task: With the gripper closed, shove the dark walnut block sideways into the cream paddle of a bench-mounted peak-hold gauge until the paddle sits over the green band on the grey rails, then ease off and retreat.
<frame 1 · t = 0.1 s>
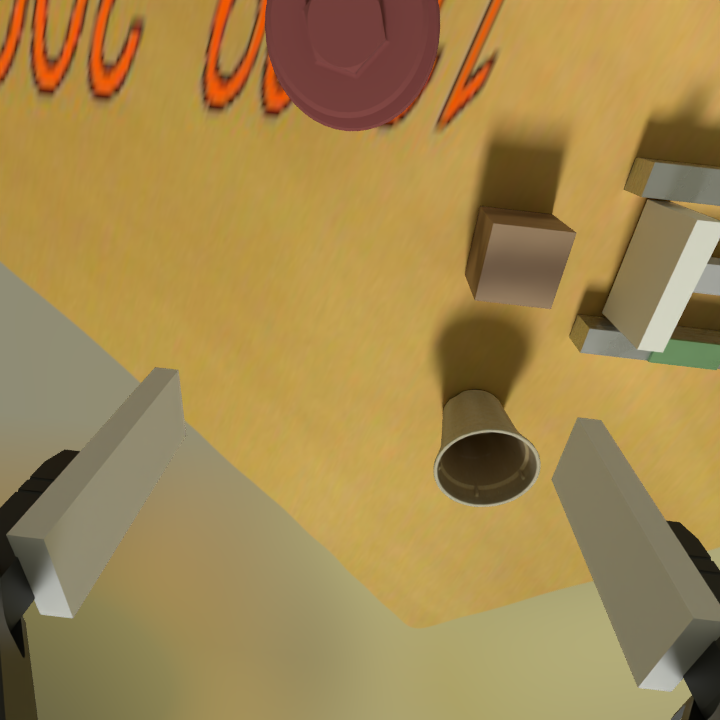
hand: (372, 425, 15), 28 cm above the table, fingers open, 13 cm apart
flower pot: (472, 412, 49), on the table
walnut block: (506, 245, 40), on the table
mechanical component: (360, 46, 33), on the table
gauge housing: (622, 259, 39), on the table
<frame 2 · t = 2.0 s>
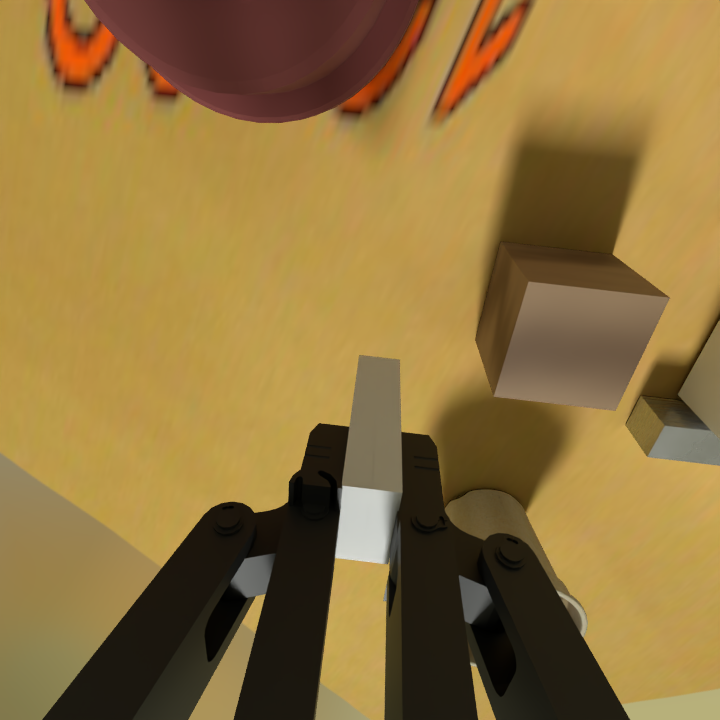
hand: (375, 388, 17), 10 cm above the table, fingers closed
flower pot: (482, 514, 35), on the table
walnut block: (539, 299, 26), on the table
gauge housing: (715, 320, 26), on the table
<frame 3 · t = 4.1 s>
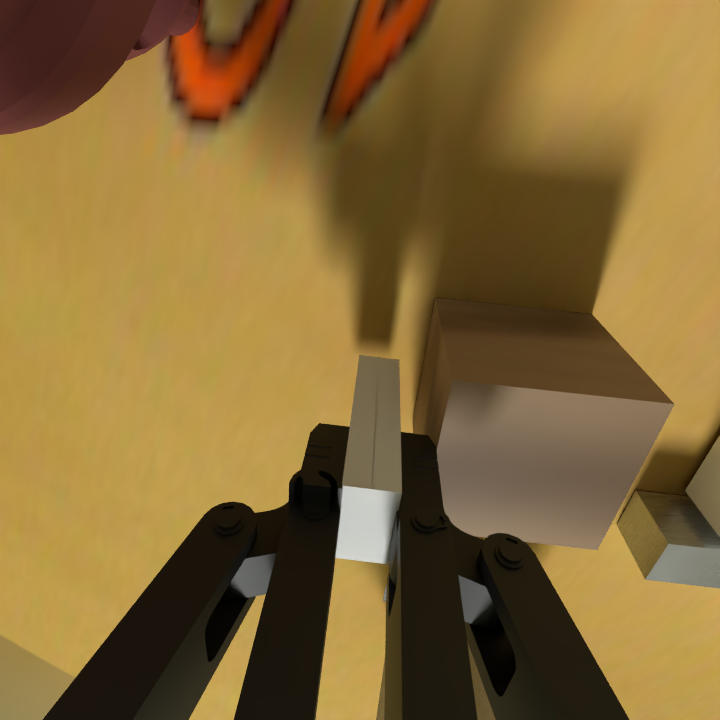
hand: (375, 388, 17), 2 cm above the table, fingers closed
flower pot: (440, 619, 28), on the table
walnut block: (494, 371, 19), on the table, touching gripper
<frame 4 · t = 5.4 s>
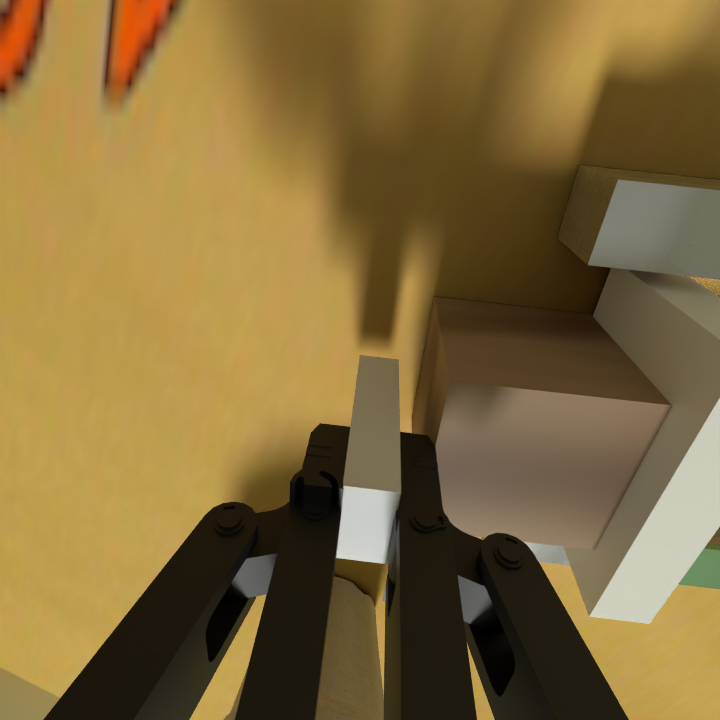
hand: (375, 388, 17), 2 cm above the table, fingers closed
flower pot: (326, 601, 28), on the table
walnut block: (493, 371, 19), on the table, touching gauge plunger, gripper
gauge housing: (564, 375, 19), on the table
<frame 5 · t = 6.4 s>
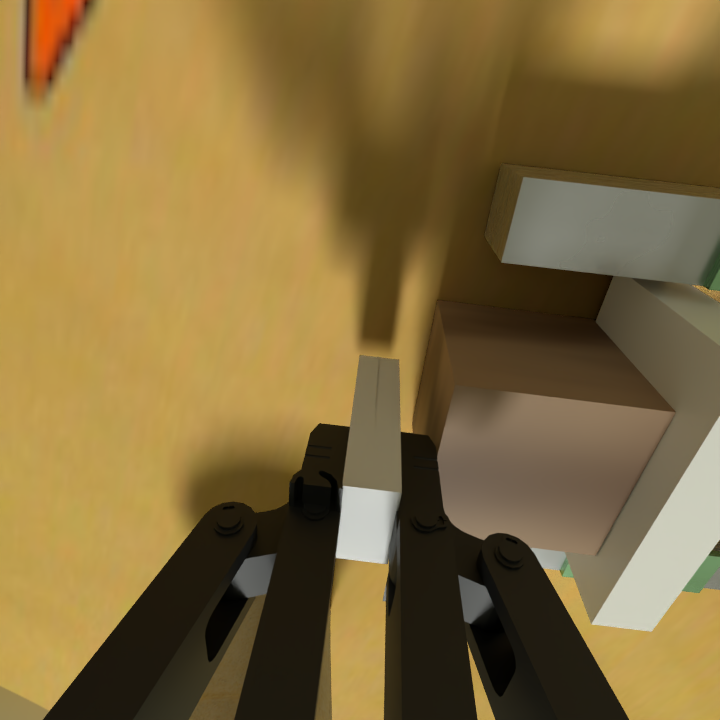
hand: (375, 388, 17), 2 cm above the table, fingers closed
flower pot: (282, 600, 28), on the table
walnut block: (495, 375, 19), on the table, touching gripper
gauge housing: (501, 373, 19), on the table
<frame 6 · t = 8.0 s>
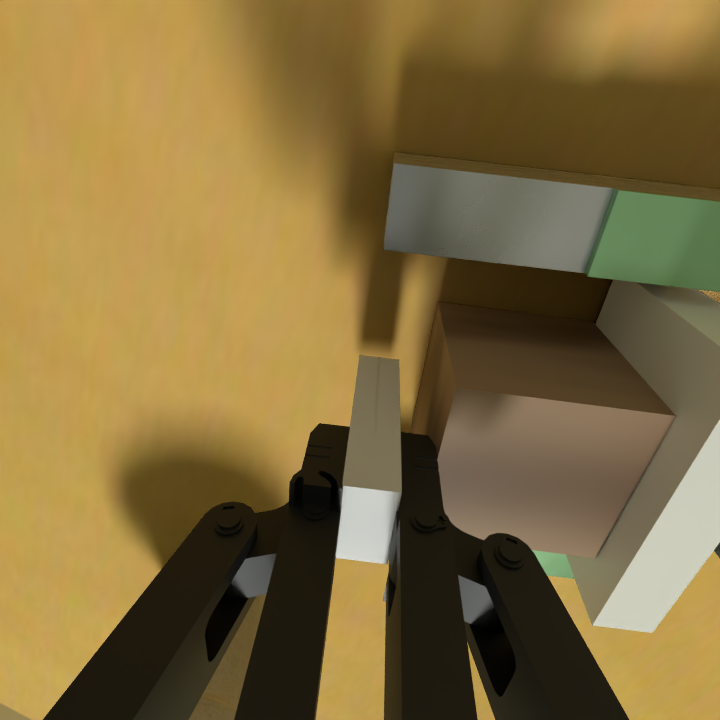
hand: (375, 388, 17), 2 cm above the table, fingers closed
flower pot: (225, 594, 28), on the table
walnut block: (495, 377, 19), on the table, touching gripper
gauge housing: (416, 364, 19), on the table
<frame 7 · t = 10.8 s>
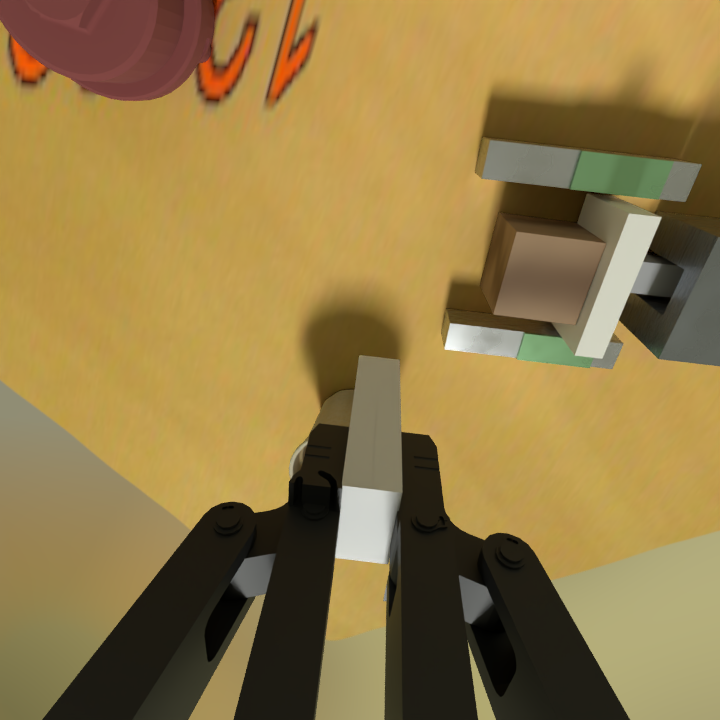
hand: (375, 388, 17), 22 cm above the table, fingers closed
flower pot: (352, 413, 46), on the table
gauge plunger: (676, 284, 33), point 4 cm above the table, slide at 6.5 cm
walnut block: (525, 255, 37), on the table
mechanical component: (172, 14, 31), on the table
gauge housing: (484, 248, 37), on the table
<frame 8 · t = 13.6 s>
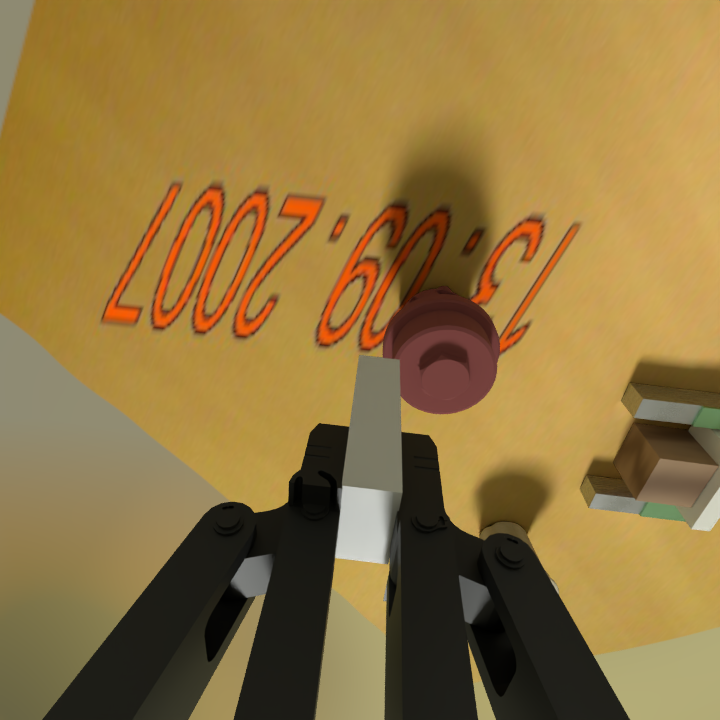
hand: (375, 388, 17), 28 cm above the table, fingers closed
flower pot: (502, 535, 62), on the table
walnut block: (648, 446, 53), on the table
mechanical component: (433, 314, 47), on the table
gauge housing: (620, 442, 53), on the table
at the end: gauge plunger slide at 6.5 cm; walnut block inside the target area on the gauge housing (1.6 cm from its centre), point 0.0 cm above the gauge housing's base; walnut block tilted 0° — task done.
